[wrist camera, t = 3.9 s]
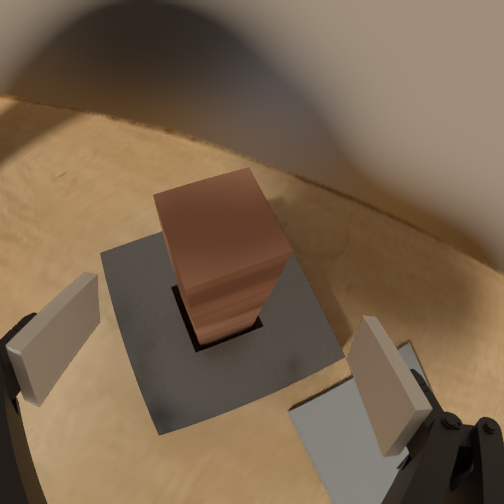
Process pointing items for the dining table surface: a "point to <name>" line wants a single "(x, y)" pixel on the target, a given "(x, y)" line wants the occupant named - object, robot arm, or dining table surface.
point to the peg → (222, 251)
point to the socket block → (219, 356)
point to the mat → (348, 442)
